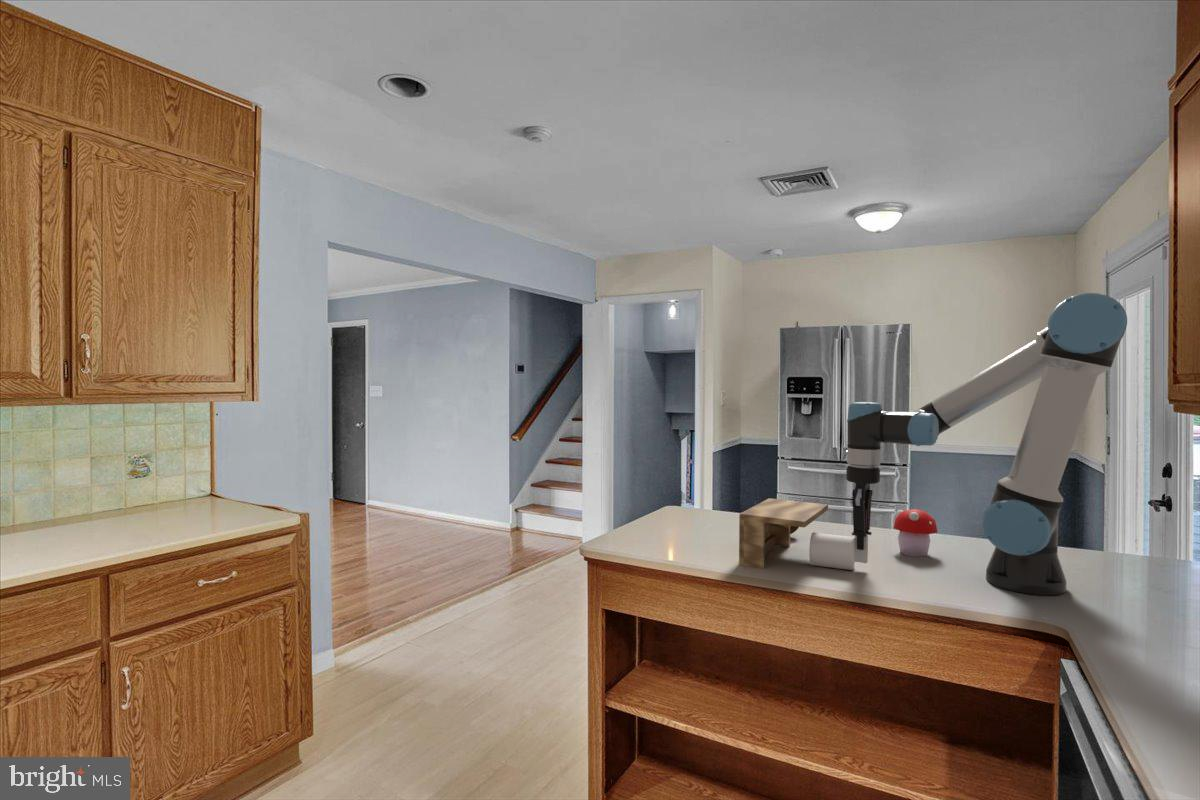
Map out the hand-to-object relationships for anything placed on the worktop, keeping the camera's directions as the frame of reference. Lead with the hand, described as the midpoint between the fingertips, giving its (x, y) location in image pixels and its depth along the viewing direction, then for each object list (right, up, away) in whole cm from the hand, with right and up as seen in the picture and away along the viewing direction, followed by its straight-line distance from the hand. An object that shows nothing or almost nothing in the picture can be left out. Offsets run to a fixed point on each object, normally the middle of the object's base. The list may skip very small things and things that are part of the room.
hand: (861, 561), depth 152 cm
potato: (-10, -1, +32) cm, 34 cm away
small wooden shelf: (-16, -2, +10) cm, 19 cm away
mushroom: (+21, -2, +15) cm, 26 cm away
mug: (-5, -2, +4) cm, 7 cm away
